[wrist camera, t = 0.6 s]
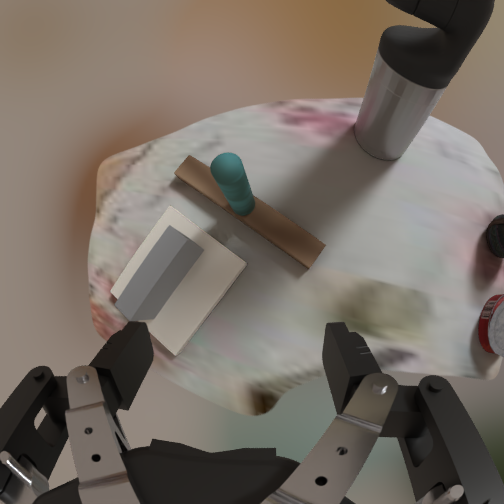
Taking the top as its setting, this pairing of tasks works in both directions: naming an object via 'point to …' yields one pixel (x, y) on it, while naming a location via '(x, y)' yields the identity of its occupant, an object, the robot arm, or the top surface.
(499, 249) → the mate gourd
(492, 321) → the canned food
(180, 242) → the ridge stand
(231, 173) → the teal peg on base
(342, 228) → the top surface
